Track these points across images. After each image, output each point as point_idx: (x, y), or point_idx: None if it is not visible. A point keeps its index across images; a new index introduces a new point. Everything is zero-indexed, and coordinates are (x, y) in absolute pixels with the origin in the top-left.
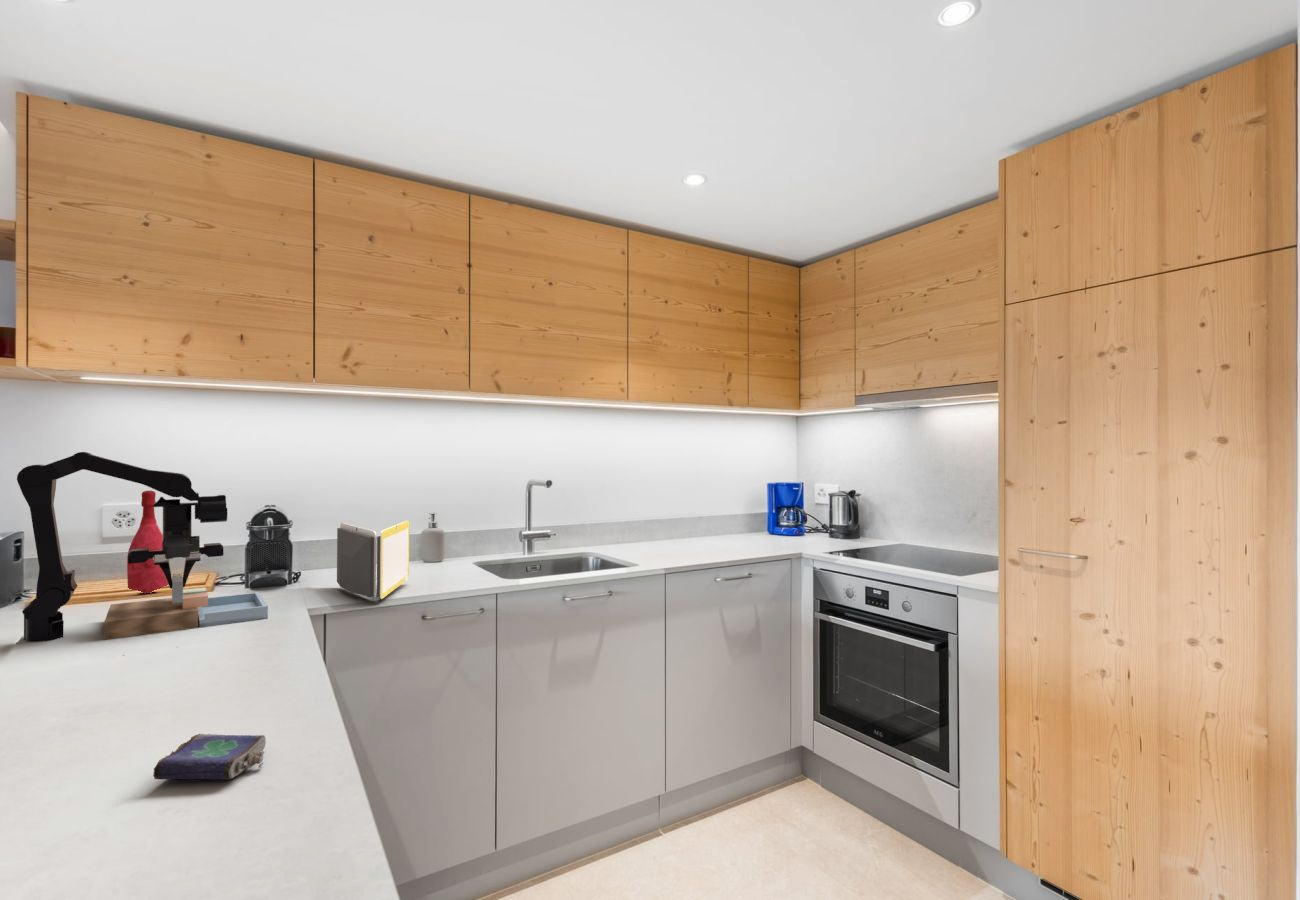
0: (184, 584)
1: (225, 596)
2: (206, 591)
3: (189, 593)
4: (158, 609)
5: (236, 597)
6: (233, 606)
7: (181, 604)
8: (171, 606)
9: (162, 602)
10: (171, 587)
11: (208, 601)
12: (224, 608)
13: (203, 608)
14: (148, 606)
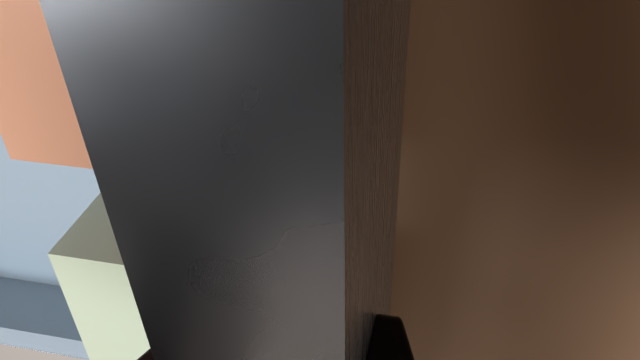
0: None
1: (56, 337)
2: (54, 247)
3: None
4: (576, 30)
5: (3, 312)
6: (22, 210)
7: None
8: (415, 117)
9: (468, 348)
10: (384, 322)
11: None
12: (67, 191)
13: None
14: (618, 274)
